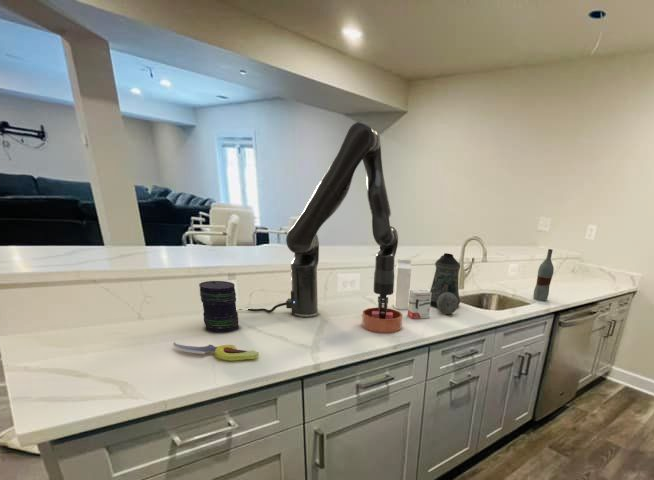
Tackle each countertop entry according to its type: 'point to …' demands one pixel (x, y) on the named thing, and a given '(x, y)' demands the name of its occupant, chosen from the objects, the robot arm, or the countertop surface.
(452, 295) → the decorative ball
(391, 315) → the eraser
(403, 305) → the milk
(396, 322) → the bowl
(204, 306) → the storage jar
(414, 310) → the ink box
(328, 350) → the countertop surface
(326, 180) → the robot arm
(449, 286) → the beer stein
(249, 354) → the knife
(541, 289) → the bottle
